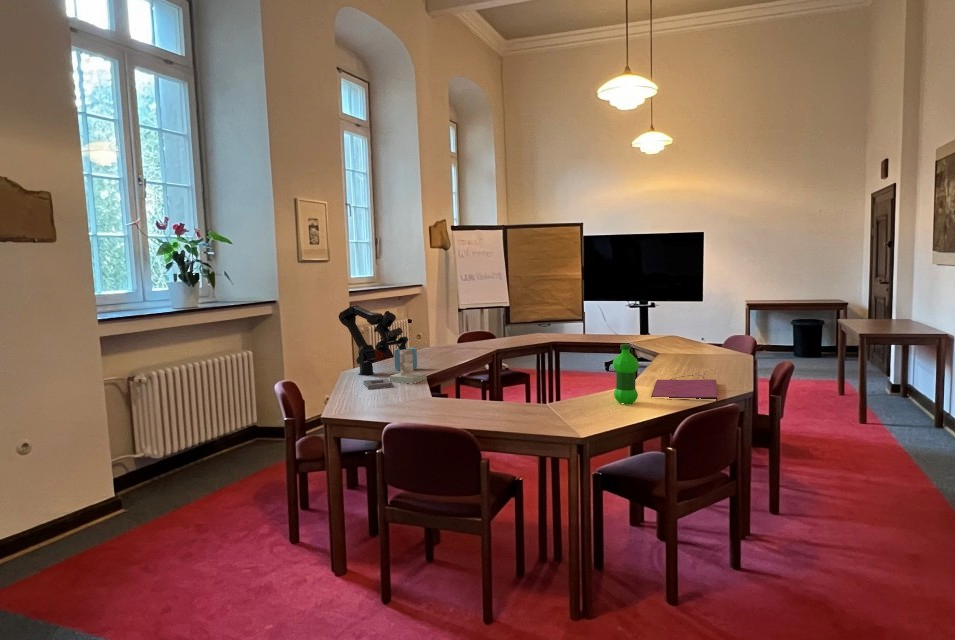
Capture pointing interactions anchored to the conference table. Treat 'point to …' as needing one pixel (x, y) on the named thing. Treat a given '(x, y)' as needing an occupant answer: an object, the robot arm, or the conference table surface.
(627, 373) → the plastic bottle
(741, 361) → the conference table surface
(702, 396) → the maroon hardcover notebook
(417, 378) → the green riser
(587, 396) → the conference table surface
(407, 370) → the cream block
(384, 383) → the pocket holder
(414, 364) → the light blue square slab
